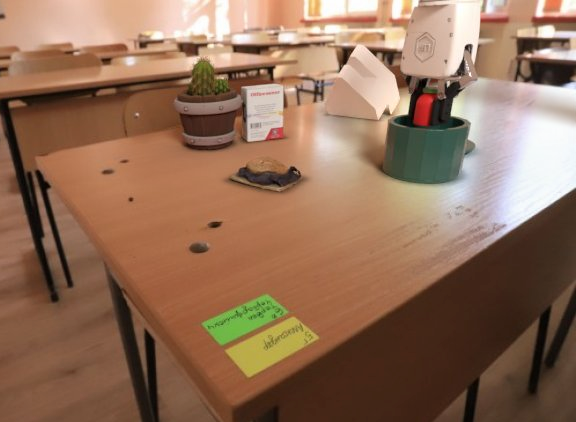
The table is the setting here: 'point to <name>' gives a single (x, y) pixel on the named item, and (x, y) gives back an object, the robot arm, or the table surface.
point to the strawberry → (425, 106)
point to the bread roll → (267, 174)
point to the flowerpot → (207, 108)
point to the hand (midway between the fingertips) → (427, 120)
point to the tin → (425, 150)
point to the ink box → (262, 112)
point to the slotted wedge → (363, 87)
